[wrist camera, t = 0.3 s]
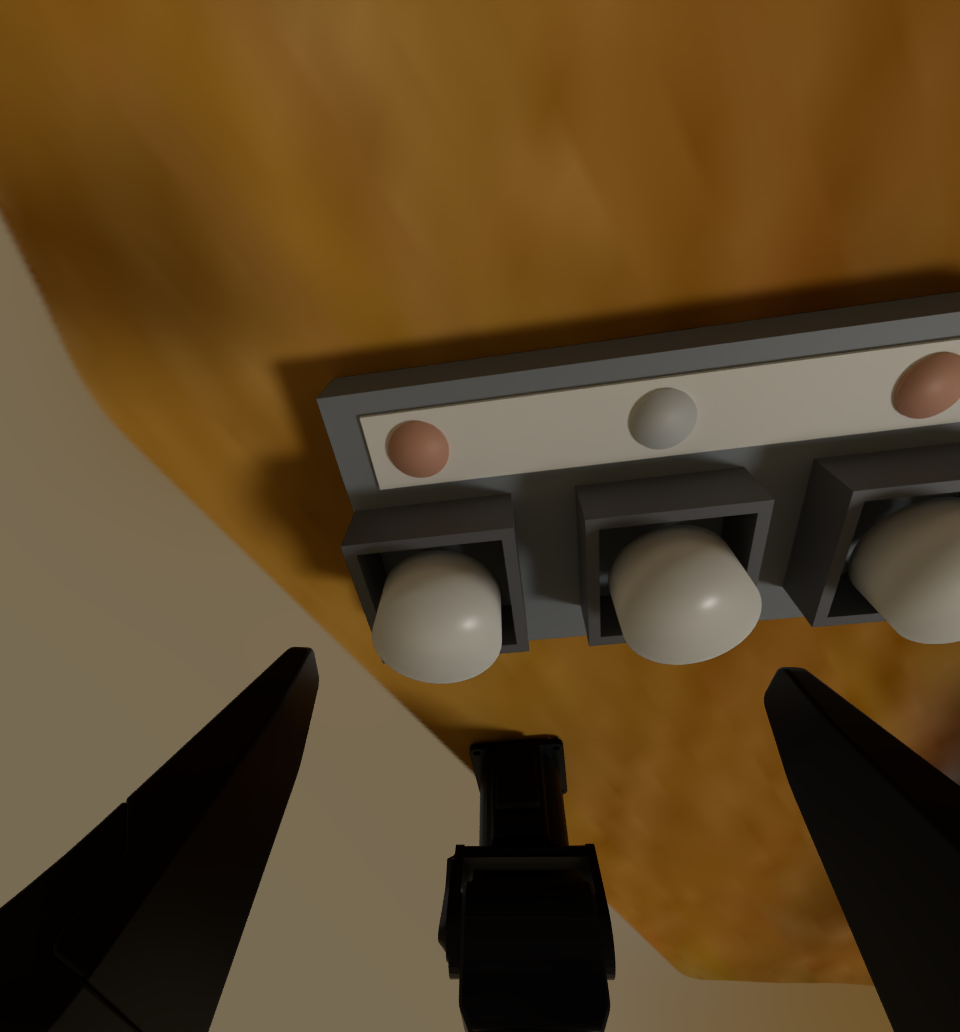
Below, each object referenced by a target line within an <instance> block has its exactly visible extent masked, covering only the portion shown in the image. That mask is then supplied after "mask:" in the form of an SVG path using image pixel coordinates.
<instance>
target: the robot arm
mask: <svg viewBox="0 0 960 1032" xmlns="http://www.w3.org/2000/svg"><path fill="white" fill-rule="evenodd" d="M318 685H319V675H318V670H317V665H316V660H315V655H314V652H313V650H312V649H311V648H307V647H306V648H305V647H292V648H290V649H288V650H287V651H286V652H284V653H283V654H282V655H281V656H280V657H279V658H278V659H277V660H276V661H275V662H274V663H273V664H271V665H270V666H269V667H268V668H267V669H266V670H265V671H264V672H263V673H262V674H261V675H260V676H259V677H257V678H256V679H255V680H254V681H253V682H252V683H251V684H250V685H249V686H248V687H247V688H246V689H244V690H243V691H242V692H241V693H240V694H239V695H238V696H237V697H236V698H235V699H234V700H233V701H232V702H230V703H229V704H228V705H227V706H226V707H225V708H224V709H223V710H222V711H221V712H220V713H219V714H218V715H217V716H215V717H214V718H213V719H212V720H211V721H210V722H209V723H208V724H207V725H206V726H205V727H204V728H202V729H201V730H200V731H199V732H198V733H197V734H196V735H195V736H194V737H193V738H192V739H191V740H190V741H188V742H187V743H186V744H185V745H184V746H183V747H182V748H181V749H180V750H179V751H178V752H177V753H176V754H174V755H173V756H172V757H171V758H170V759H169V760H168V761H167V762H166V763H165V764H164V765H163V766H162V767H160V768H159V769H158V770H157V771H156V772H155V773H154V774H153V775H152V776H151V777H150V778H149V779H147V780H146V781H145V782H144V783H143V784H142V785H141V786H140V787H139V788H138V789H137V790H136V791H134V792H133V793H132V794H131V795H130V796H129V797H128V798H127V801H126V803H121V804H120V805H119V806H118V807H117V808H116V809H115V810H114V811H113V812H112V813H111V814H110V815H108V816H107V817H106V818H105V819H104V820H103V821H102V822H101V823H100V824H99V825H97V826H96V827H95V828H94V829H93V830H92V831H91V832H90V833H89V834H87V835H86V836H85V837H84V838H83V839H82V840H81V841H80V842H78V843H77V845H75V846H74V847H73V848H72V849H71V850H70V851H68V852H67V853H66V854H65V855H64V856H63V857H61V858H60V859H59V860H58V861H57V862H56V863H54V864H53V865H52V866H51V867H49V868H48V869H47V870H46V871H45V872H44V873H42V874H41V875H40V876H39V877H38V878H36V879H35V880H34V881H33V882H32V883H30V884H29V885H28V886H27V887H26V888H25V889H23V890H22V891H21V892H19V893H18V894H17V895H16V896H15V897H13V898H12V899H11V900H10V901H8V902H7V903H6V904H5V905H3V907H1V908H0V1032H208V1031H209V1028H210V1025H211V1023H212V1020H213V1017H214V1014H215V1011H216V1008H217V1005H218V1002H219V999H220V997H221V994H222V991H223V988H224V985H225V982H226V979H227V976H228V973H229V970H230V967H231V965H232V962H233V959H234V956H235V953H236V950H237V947H238V945H239V942H240V939H241V936H242V933H243V930H244V927H245V924H246V921H247V918H248V916H249V913H250V910H251V907H252V904H253V901H254V898H255V895H256V892H257V890H258V887H259V884H260V881H261V878H262V875H263V872H264V870H265V866H266V864H267V860H268V858H269V855H270V852H271V849H272V846H273V844H274V841H275V838H276V835H277V832H278V829H279V826H280V823H281V820H282V817H283V815H284V812H285V809H286V806H287V803H288V800H289V797H290V794H291V792H292V789H293V786H294V783H295V780H296V777H297V774H298V771H299V767H300V764H301V760H302V755H303V752H304V747H305V743H306V738H307V734H308V730H309V725H310V721H311V717H312V712H313V708H314V704H315V699H316V694H317V690H318ZM764 705H765V709H766V712H767V715H768V719H769V722H770V725H771V728H772V731H773V735H774V738H775V741H776V744H777V747H778V751H779V754H780V757H781V760H782V763H783V767H784V770H785V773H786V776H787V779H788V782H789V784H790V787H791V789H792V792H793V795H794V797H795V799H796V802H797V804H798V807H799V809H800V811H801V814H802V816H803V818H804V821H805V823H806V825H807V828H808V830H809V832H810V835H811V837H812V840H813V842H814V844H815V847H816V849H817V851H818V854H819V856H820V858H821V861H822V863H823V865H824V868H825V870H826V873H827V875H828V877H829V880H830V882H831V884H832V887H833V889H834V891H835V894H836V896H837V898H838V901H839V903H840V906H841V908H842V910H843V913H844V915H845V917H846V920H847V922H848V924H849V927H850V929H851V932H852V934H853V936H854V939H855V941H856V943H857V946H858V948H859V950H860V953H861V955H862V957H863V960H864V962H865V965H866V967H867V969H868V972H869V974H870V976H871V979H872V981H873V983H874V986H875V988H876V990H877V993H878V995H879V997H880V1000H881V1002H882V1005H883V1007H884V1009H885V1012H886V1014H887V1016H888V1019H889V1021H890V1023H891V1026H892V1028H893V1031H894V1032H960V786H959V785H958V784H956V783H955V782H954V781H952V780H951V779H950V778H948V777H947V776H946V775H944V774H943V773H942V772H941V771H939V770H938V769H937V768H935V767H934V766H933V765H931V764H930V763H929V762H927V761H926V760H925V759H923V758H922V757H921V756H919V755H918V754H917V753H915V752H914V751H913V750H911V749H910V748H909V747H907V746H906V745H905V744H904V743H902V742H901V741H900V740H898V739H897V738H896V737H894V736H893V735H892V734H890V733H889V732H888V731H886V730H885V729H884V728H882V727H881V726H880V725H878V724H877V723H876V722H874V721H873V720H872V719H870V718H869V717H868V716H867V715H865V714H864V713H863V712H861V711H860V710H859V709H857V708H856V707H855V706H853V705H852V704H851V703H849V702H848V701H847V700H845V699H844V698H843V697H841V696H840V695H839V694H837V693H836V692H835V691H833V690H832V689H831V688H829V687H828V686H827V685H826V684H824V683H823V682H822V681H820V680H819V679H818V678H816V677H815V676H814V675H812V674H811V673H810V672H808V671H807V670H805V669H803V668H797V667H781V668H780V669H778V670H777V672H776V673H775V675H774V677H773V679H772V681H771V683H770V685H769V687H768V688H767V690H766V692H765V696H764ZM470 757H471V761H472V764H473V768H474V772H475V776H476V780H477V783H478V787H479V791H480V840H479V846H465V845H456V850H455V854H454V856H452V857H450V858H448V859H447V874H446V887H445V894H444V900H443V907H442V912H441V918H440V924H439V932H438V942H439V943H440V945H441V946H442V948H443V949H444V950H445V952H446V960H447V962H448V964H449V977H450V979H459V1007H460V1011H461V1016H462V1020H463V1025H464V1029H465V1032H604V1030H605V1027H606V1023H607V1019H608V1016H609V1011H610V998H609V990H608V983H607V980H614V979H615V951H614V941H613V934H612V927H611V920H610V914H609V910H608V905H607V900H606V896H605V891H604V887H603V882H602V878H601V873H600V869H599V864H598V860H597V855H596V850H595V846H594V844H585V845H582V846H569V843H568V834H567V826H566V818H565V810H564V801H563V794H565V793H566V792H567V783H566V772H565V760H564V749H563V742H562V740H560V739H556V738H555V739H540V740H525V741H511V742H496V743H482V744H473V745H471V746H470Z"/></svg>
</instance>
